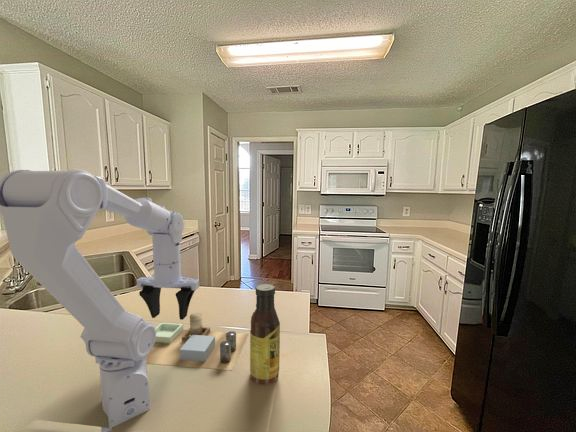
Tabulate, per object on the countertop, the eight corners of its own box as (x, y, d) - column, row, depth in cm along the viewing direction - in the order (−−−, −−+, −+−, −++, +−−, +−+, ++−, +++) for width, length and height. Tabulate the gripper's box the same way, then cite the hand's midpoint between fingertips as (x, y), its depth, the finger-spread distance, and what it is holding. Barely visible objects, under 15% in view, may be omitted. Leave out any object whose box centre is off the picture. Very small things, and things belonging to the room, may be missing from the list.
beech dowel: (204, 336, 67) (203, 315, 67) (192, 341, 65) (192, 319, 65) (200, 331, 69) (199, 311, 69) (189, 335, 68) (188, 314, 67)
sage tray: (183, 330, 70) (183, 324, 70) (170, 344, 64) (170, 337, 64) (161, 328, 71) (161, 322, 71) (146, 342, 65) (146, 335, 64)
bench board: (248, 336, 69) (248, 329, 69) (232, 373, 55) (232, 365, 55) (162, 330, 71) (161, 324, 71) (125, 364, 57) (125, 356, 57)
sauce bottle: (275, 391, 50) (275, 295, 48) (245, 385, 52) (244, 292, 50) (282, 368, 57) (283, 283, 55) (256, 364, 58) (255, 280, 56)
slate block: (215, 345, 63) (215, 336, 63) (205, 361, 58) (204, 351, 57) (192, 343, 64) (192, 334, 64) (180, 359, 58) (179, 349, 58)
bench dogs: (237, 346, 63) (237, 331, 63) (229, 364, 57) (228, 347, 56) (228, 346, 63) (227, 331, 63) (218, 363, 57) (218, 346, 57)
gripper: (204, 258, 62) (205, 310, 64) (149, 256, 64) (151, 307, 65) (190, 266, 55) (192, 325, 57) (129, 264, 57) (132, 321, 58)
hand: (169, 316), depth 61 cm, fingers open, 6 cm apart
